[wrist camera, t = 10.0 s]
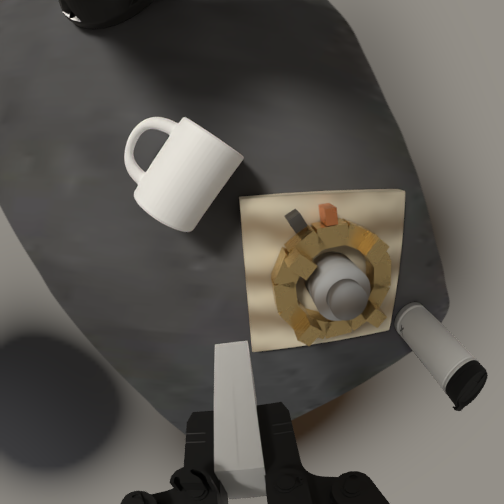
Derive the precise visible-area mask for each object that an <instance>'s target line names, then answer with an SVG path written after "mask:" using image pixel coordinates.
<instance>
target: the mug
mask: <svg viewBox="0 0 504 504" xmlns="http://www.w3.org/2000/svg"><path fill="white" fill-rule="evenodd" d="M148 129H156V130H160V131H163V132H165V133H167V134H169V138H168V139H167V141H166V142H165V144H164V145H163V147H162V148H161V150H160V151H159V153H158V154H157V156H156V158H155V159H154V161H153V162H152V164H151V165H150V167H149V168H148V170H147V172H144V171H143V170H142V169H141V168H140V167H139V166H138V165H137V163H136V161H135V159H134V155H133V152H134V147H135V144H136V142H137V140H138V138H139V137H140V135H141V134H142V133H143V132H144V131H145V130H148ZM124 158H125V166H126V169H127V171H128V173H129V175H130V176H131V178H132V179H133V180H134V181H135V182H136V183H137V184H138V186H137V188H136V190H135V192H134V198H135V200H136V202H137V203H138V204H139V205H140V207H141V208H142V209H143V210H145V211H146V212H147V213H148V214H149V215H151V216H152V217H153V218H155V219H156V220H158V221H160V222H161V223H163V224H165V225H167V226H169V227H171V228H173V229H176V230H179V231H183V232H190V231H192V230H193V229H194V228H195V227H196V225H197V224H198V222H199V221H200V219H201V218H202V216H203V215H204V213H205V212H206V211H207V209H208V208H209V206H210V205H211V203H212V202H213V201H214V199H215V198H216V196H217V195H218V193H219V192H220V191H221V189H222V188H223V186H224V185H225V184H226V182H227V181H228V180H229V178H230V177H231V175H232V174H233V173H234V171H235V170H236V169H237V167H238V166H239V164H240V163H241V162H242V160H243V159H244V157H243V156H242V155H241V154H240V153H238V152H237V151H236V150H234V149H233V148H231V147H230V146H229V145H227V144H226V143H224V142H223V141H221V140H220V139H218V138H217V137H215V136H214V135H212V134H211V133H210V132H208V131H207V130H205V129H203V128H202V127H200V126H199V125H197V124H196V123H194V122H193V121H191V120H189V119H188V118H186V117H183V118H182V119H181V121H180V122H179V123H176V122H174V121H172V120H170V119H167V118H163V117H151V118H148V119H145V120H143V121H142V122H140V123H139V124H138V125H137V126H136V127H135V128H134V130H133V131H132V132H131V134H130V136H129V138H128V141H127V144H126V147H125V156H124Z"/></svg>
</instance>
